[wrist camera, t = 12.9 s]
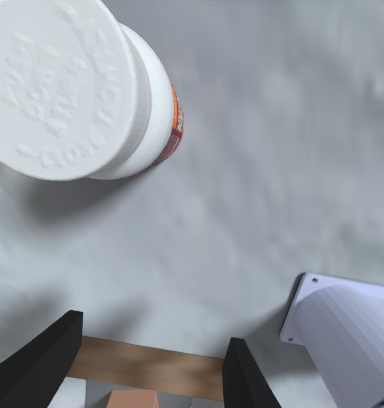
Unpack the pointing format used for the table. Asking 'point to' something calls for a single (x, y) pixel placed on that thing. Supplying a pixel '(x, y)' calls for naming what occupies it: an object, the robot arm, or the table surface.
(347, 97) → the table surface
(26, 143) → the pill bottle
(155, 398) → the marked cube
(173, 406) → the slate mat
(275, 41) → the table surface
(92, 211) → the table surface
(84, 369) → the walnut board
